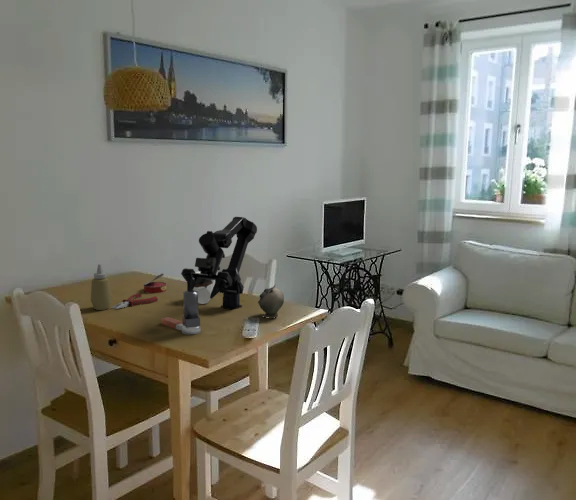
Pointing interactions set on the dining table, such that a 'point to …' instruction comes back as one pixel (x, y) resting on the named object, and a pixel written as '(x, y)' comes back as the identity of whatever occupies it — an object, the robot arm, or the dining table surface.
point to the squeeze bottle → (100, 290)
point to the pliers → (135, 301)
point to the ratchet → (180, 326)
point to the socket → (190, 309)
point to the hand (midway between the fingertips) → (199, 296)
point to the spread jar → (203, 289)
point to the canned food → (155, 286)
